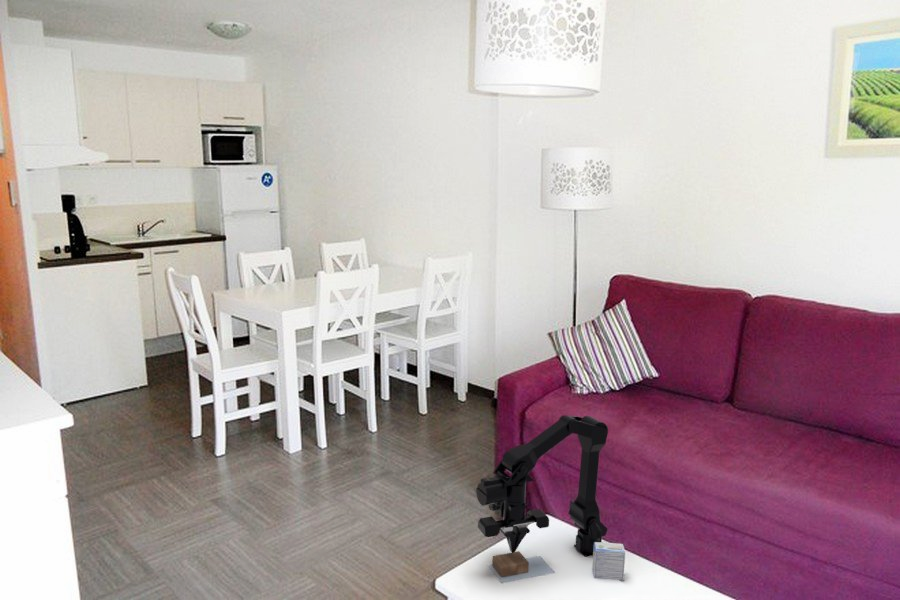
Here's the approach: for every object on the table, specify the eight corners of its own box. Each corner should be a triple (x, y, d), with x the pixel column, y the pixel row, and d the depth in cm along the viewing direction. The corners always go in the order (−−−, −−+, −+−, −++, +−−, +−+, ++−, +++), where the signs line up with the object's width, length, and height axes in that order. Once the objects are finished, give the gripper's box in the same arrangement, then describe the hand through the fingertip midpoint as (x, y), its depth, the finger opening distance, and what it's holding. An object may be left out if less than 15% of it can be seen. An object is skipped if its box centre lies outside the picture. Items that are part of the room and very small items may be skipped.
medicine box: (621, 572, 189) (623, 543, 188) (623, 582, 185) (625, 551, 183) (591, 570, 190) (593, 541, 189) (593, 579, 186) (595, 549, 184)
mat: (540, 557, 196) (540, 555, 196) (555, 573, 188) (555, 572, 188) (487, 566, 191) (487, 565, 191) (501, 584, 183) (501, 583, 182)
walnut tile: (519, 551, 193) (492, 556, 190) (528, 562, 187) (501, 567, 184) (518, 561, 193) (492, 566, 190) (528, 572, 188) (501, 577, 185)
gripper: (532, 480, 196) (530, 532, 199) (470, 489, 190) (469, 542, 193) (551, 498, 186) (548, 551, 189) (486, 507, 180) (485, 563, 182)
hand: (512, 551), depth 188 cm, fingers closed
